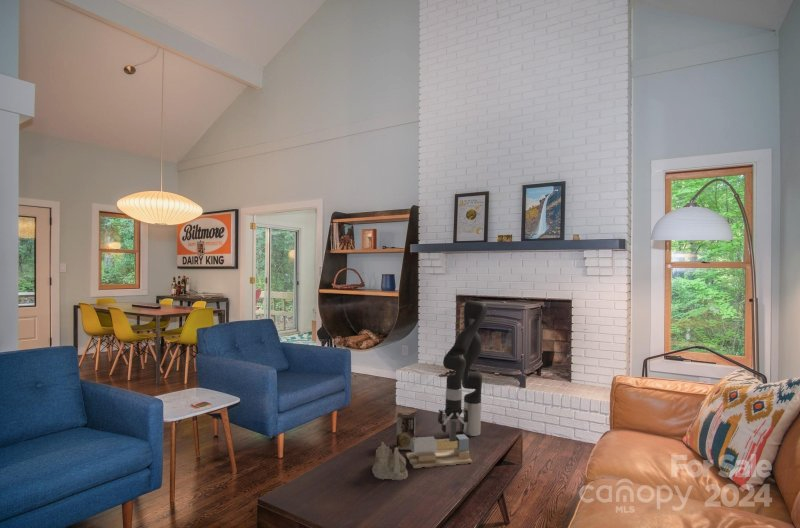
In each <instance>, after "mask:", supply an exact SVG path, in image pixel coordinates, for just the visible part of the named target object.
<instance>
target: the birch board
mask: <svg viewBox="0 0 800 528" xmlns="http://www.w3.org/2000/svg"><path fill="white" fill-rule="evenodd" d="M435 455H436V462H428V463H418V461H417V459H416V458H415V456H414V454H413V452H412V451H411V452H405V456H406V458H407V460H408V459H409V460H408V461H409V463H410V465H411V464H412V465H411V466H413V467H412V469H421V468H422V467H425V468H433V466H437V467H445V466H446V465H449V466H457V465H456V464H461V465H469V464H468V463H472V464H473V460H472V459H471V458H465V459H459V457H458V456H457V455H456V454H455V453H454V448H453V449H440V450H437V453H435Z"/></svg>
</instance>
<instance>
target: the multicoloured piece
mask: <svg viewBox="0 0 800 528" xmlns="http://www.w3.org/2000/svg"><path fill="white" fill-rule="evenodd" d="M448 435H449V437H448V438H441V439H440V438H439V439H437V438H435V439H436V441H437V450H448V449H454V448H459V440H458V439H457V438H456V435H457V421H456V419H452V420H451V419H449V434H448Z"/></svg>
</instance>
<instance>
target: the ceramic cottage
mask: <svg viewBox="0 0 800 528" xmlns="http://www.w3.org/2000/svg"><path fill="white" fill-rule="evenodd" d="M386 445H387V444H385V442H384V441H381V445H380V446H378V447H377V449H376V450H375V458H374V459H375V460H374V464H373V466H372V468H371V470H372V474H374V475H373V476H374V477H375V478H377V479H380V480H384V479H392V480H391V481H403V479H404V480H407V479H408V478H407V477H409V474H408V473H409V472H408V471H409V470H408V469H407V468H406V467H407V466H406V465H407V460H406V458H405V457H404V456H403V455H402V454H401V453H400V451H399V449H398V448H396V447H394V451H393V448H392V449H391V448H390V446H386Z"/></svg>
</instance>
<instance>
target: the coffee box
mask: <svg viewBox="0 0 800 528" xmlns="http://www.w3.org/2000/svg"><path fill="white" fill-rule="evenodd" d="M411 438H416V413H412V412H409V413H408V412H397V414H396V438H395V439H396V445H395V446H396V447H395V448H398V450H407V451H411Z"/></svg>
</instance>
